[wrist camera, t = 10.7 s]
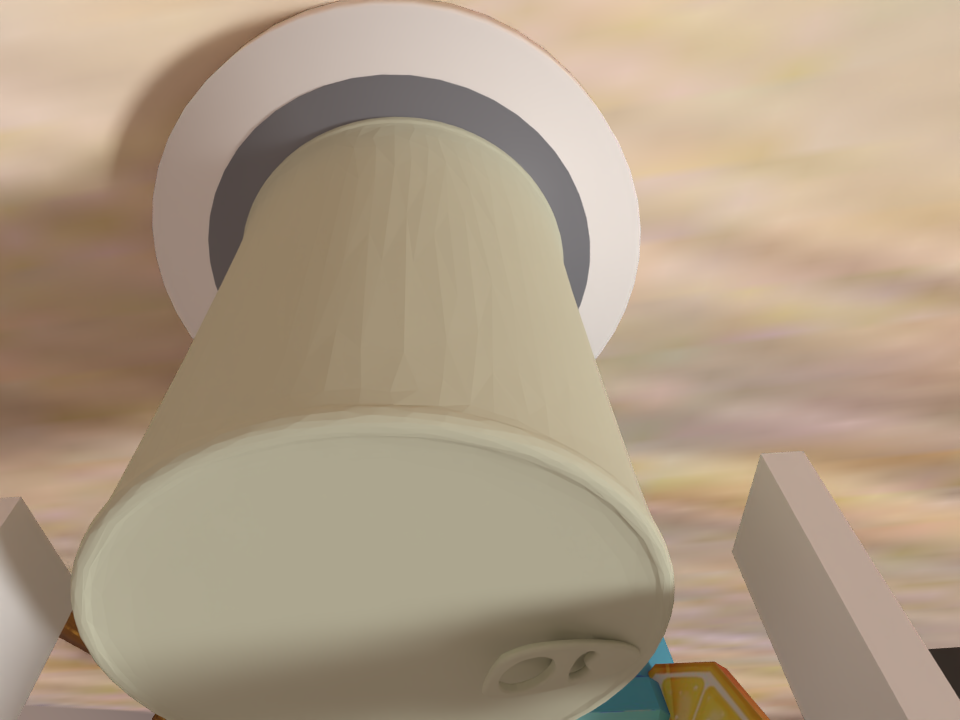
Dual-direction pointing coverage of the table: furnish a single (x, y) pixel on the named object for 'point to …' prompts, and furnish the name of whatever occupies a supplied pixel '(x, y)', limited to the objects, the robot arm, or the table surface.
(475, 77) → the white and grey plate
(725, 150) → the table surface
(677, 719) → the cup
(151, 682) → the can
